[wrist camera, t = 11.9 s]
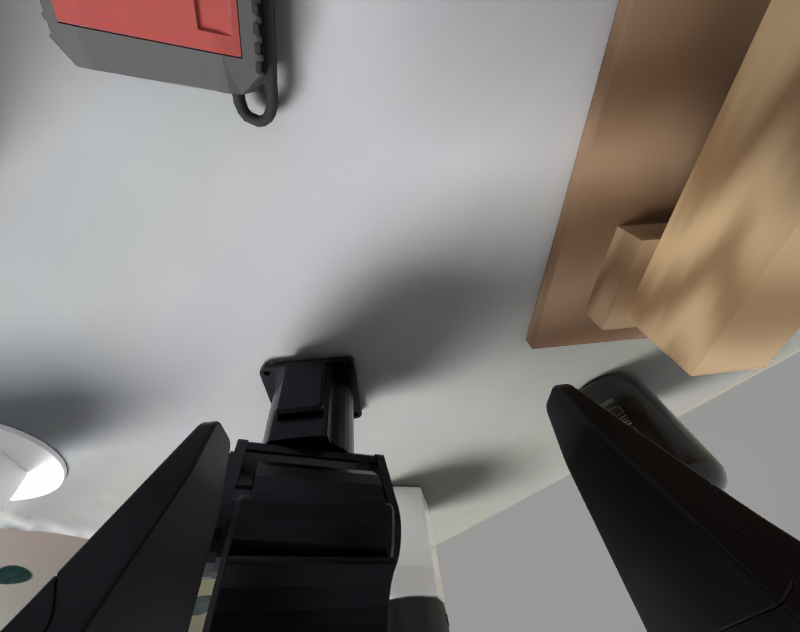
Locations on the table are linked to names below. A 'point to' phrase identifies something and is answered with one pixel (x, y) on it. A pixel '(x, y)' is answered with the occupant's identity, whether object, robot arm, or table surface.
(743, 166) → the oak rail
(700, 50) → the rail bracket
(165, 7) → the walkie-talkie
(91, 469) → the table surface
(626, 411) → the supplement bottle
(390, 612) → the jar
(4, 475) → the panda figurine
